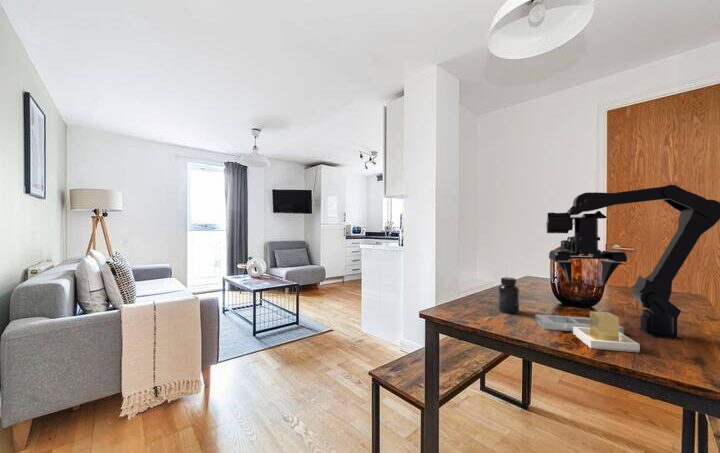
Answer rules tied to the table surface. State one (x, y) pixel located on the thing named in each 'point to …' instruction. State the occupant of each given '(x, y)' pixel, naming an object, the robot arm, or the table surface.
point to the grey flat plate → (564, 322)
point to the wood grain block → (604, 326)
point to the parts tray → (622, 345)
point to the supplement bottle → (508, 296)
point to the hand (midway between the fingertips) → (586, 283)
